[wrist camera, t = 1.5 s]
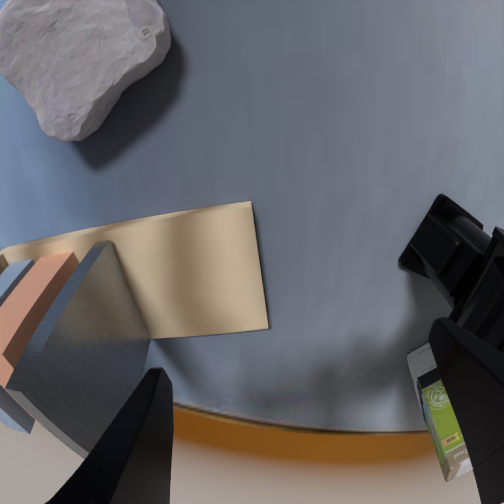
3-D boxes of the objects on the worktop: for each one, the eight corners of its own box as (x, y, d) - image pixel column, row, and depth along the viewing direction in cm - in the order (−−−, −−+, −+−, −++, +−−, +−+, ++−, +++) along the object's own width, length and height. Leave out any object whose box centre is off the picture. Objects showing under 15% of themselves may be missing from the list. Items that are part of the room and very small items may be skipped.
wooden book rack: (251, 200, 19) (263, 333, 9) (267, 317, 24) (281, 446, 14) (3, 248, 20) (-69, 332, 10) (50, 331, 25) (7, 420, 15)
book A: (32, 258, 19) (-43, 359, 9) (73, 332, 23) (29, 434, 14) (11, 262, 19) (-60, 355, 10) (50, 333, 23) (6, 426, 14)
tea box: (401, 354, 28) (449, 472, 15) (475, 309, 26) (540, 411, 13) (415, 401, 35) (445, 485, 22) (472, 369, 33) (510, 446, 20)
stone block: (105, -47, 10) (1, 46, 11) (91, -78, 6) (-34, 38, 7) (200, 48, 16) (83, 148, 17) (206, 28, 12) (56, 158, 13)
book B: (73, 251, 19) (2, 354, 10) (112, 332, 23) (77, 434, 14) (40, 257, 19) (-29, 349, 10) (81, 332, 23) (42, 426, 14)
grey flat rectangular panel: (109, 240, 18) (21, 392, 8) (151, 336, 23) (120, 475, 12) (95, 242, 18) (4, 388, 8) (138, 337, 23) (104, 472, 12)
